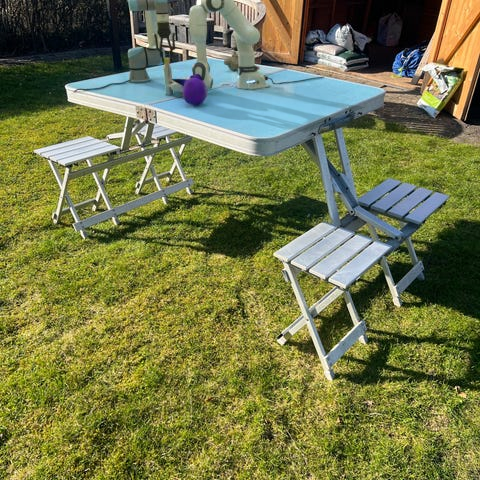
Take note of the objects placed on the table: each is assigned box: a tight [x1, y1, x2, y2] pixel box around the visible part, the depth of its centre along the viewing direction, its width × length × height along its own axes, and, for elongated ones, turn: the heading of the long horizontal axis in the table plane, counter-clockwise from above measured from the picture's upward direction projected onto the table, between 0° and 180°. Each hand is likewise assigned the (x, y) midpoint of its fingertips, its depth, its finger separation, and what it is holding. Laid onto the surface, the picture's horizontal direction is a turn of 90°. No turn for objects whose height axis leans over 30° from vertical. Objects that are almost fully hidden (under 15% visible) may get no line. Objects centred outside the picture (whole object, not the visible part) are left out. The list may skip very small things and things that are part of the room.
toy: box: [172, 74, 208, 106], centre depth 273 cm, size 16×18×27 cm
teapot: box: [223, 50, 239, 72], centre depth 366 cm, size 21×12×15 cm, turn 120°
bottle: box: [163, 62, 175, 96], centre depth 293 cm, size 5×5×22 cm
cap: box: [163, 57, 171, 63], centre depth 288 cm, size 4×4×2 cm
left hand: (166, 61), depth 288 cm, fingers open, 4 cm apart
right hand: (167, 84), depth 295 cm, fingers closed on bottle, 5 cm apart
